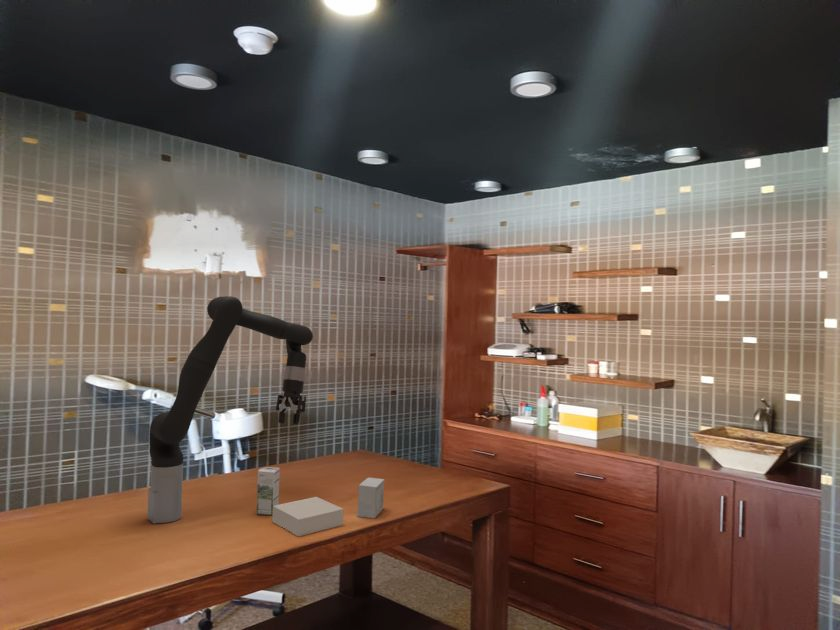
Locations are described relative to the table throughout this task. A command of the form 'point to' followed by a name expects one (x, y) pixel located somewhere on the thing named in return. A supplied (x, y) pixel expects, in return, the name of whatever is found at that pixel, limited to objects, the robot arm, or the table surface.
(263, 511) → the syrup box
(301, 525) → the plinth
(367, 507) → the skincare box
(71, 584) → the table surface
